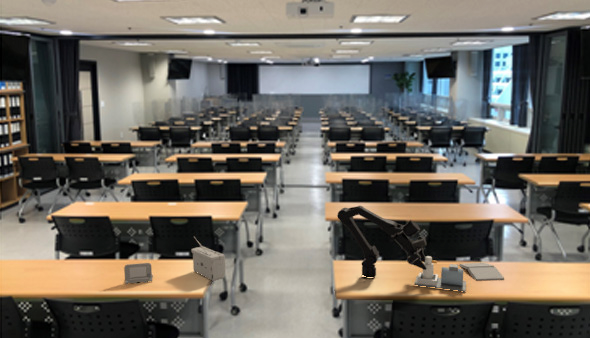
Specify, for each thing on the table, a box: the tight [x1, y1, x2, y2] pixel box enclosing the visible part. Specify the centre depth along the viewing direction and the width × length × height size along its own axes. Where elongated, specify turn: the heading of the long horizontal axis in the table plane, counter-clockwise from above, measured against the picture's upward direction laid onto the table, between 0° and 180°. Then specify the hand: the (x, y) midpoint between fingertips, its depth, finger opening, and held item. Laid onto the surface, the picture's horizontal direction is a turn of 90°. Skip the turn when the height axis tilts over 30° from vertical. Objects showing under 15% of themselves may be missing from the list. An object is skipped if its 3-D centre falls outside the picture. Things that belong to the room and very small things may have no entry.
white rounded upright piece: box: [422, 255, 438, 280], centre depth 252 cm, size 7×5×12 cm
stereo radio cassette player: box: [191, 236, 226, 282], centre depth 266 cm, size 21×8×20 cm, turn 42°
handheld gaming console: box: [123, 262, 154, 285], centre depth 261 cm, size 13×9×10 cm
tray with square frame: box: [413, 263, 467, 293], centre depth 251 cm, size 24×13×10 cm, turn 70°
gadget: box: [458, 262, 505, 281], centre depth 268 cm, size 23×15×4 cm, turn 3°
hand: (426, 266), depth 252 cm, fingers open, 9 cm apart
